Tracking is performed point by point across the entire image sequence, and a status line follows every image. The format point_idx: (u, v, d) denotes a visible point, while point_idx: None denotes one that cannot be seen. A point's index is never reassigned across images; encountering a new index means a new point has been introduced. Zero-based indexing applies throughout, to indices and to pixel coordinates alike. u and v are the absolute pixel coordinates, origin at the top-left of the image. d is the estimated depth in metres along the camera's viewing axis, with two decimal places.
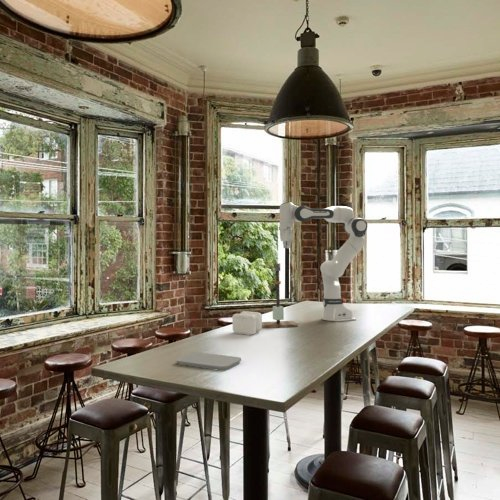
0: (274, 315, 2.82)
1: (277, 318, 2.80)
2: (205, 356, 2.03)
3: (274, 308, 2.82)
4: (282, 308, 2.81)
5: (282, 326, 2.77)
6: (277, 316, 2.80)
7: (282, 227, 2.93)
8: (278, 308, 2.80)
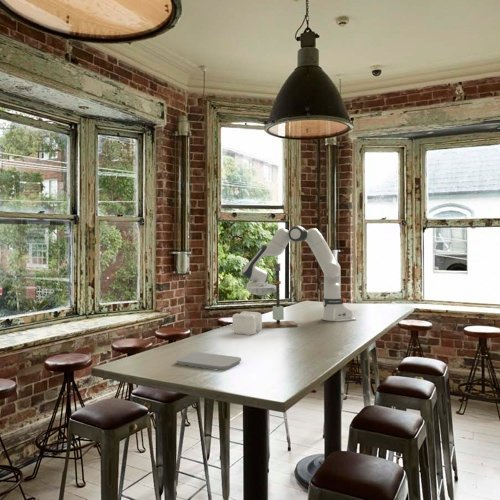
0: (274, 315, 2.82)
1: (277, 318, 2.80)
2: (205, 356, 2.03)
3: (274, 308, 2.82)
4: (282, 308, 2.81)
5: (282, 326, 2.77)
6: (277, 316, 2.80)
7: (256, 293, 3.05)
8: (278, 308, 2.80)
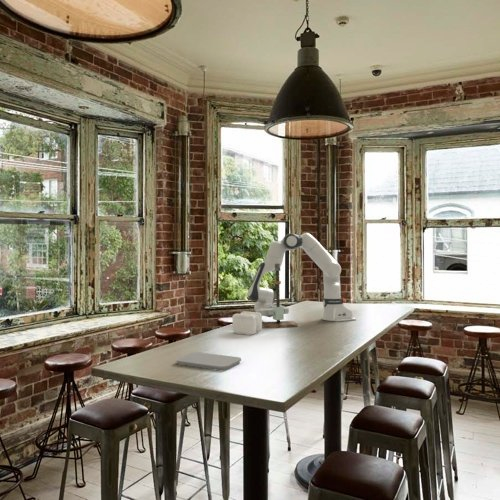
0: (274, 315, 2.82)
1: (277, 318, 2.80)
2: (205, 356, 2.03)
3: (274, 308, 2.82)
4: (282, 308, 2.81)
5: (282, 326, 2.77)
6: (277, 316, 2.80)
7: None
8: (278, 308, 2.80)
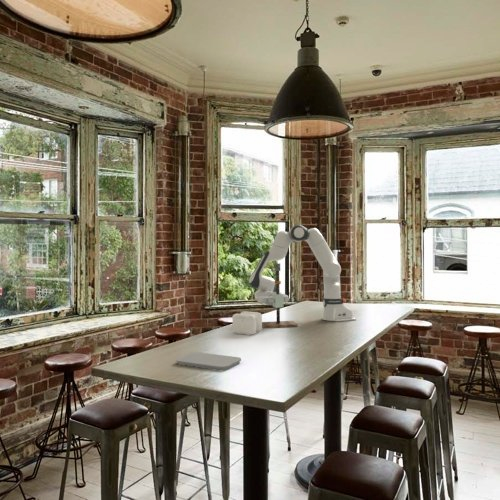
0: (274, 303, 2.82)
1: (277, 306, 2.80)
2: (205, 356, 2.03)
3: (274, 296, 2.81)
4: (282, 296, 2.81)
5: (282, 326, 2.77)
6: (277, 304, 2.80)
7: (265, 303, 2.93)
8: (278, 296, 2.80)
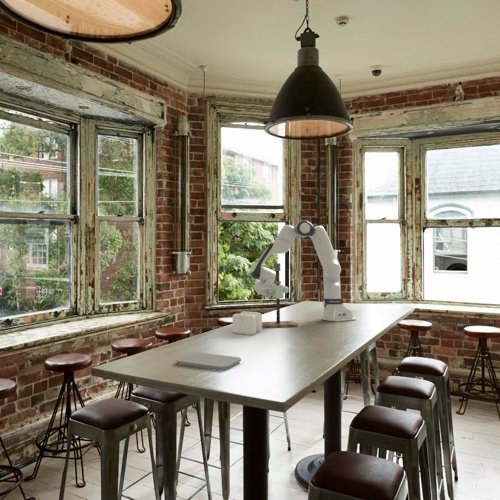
0: (274, 294, 2.82)
1: (277, 297, 2.79)
2: (205, 356, 2.03)
3: (274, 287, 2.81)
4: (282, 287, 2.81)
5: (282, 326, 2.77)
6: (277, 295, 2.79)
7: (265, 294, 2.93)
8: (278, 287, 2.80)
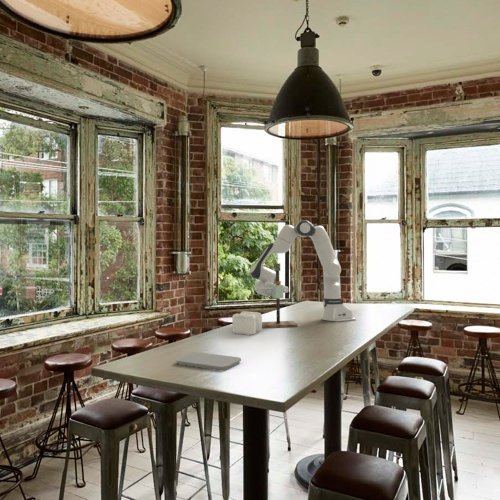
0: (274, 293, 2.82)
1: (277, 296, 2.79)
2: (205, 356, 2.03)
3: (274, 286, 2.81)
4: (282, 286, 2.81)
5: (282, 326, 2.77)
6: (277, 294, 2.79)
7: (264, 294, 2.93)
8: (278, 286, 2.80)
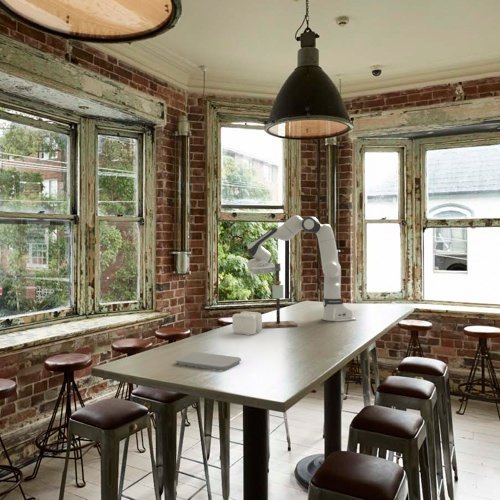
0: (274, 293, 2.82)
1: (277, 296, 2.79)
2: (205, 356, 2.03)
3: (274, 286, 2.81)
4: (282, 286, 2.81)
5: (282, 326, 2.77)
6: (277, 294, 2.79)
7: None
8: (278, 286, 2.80)
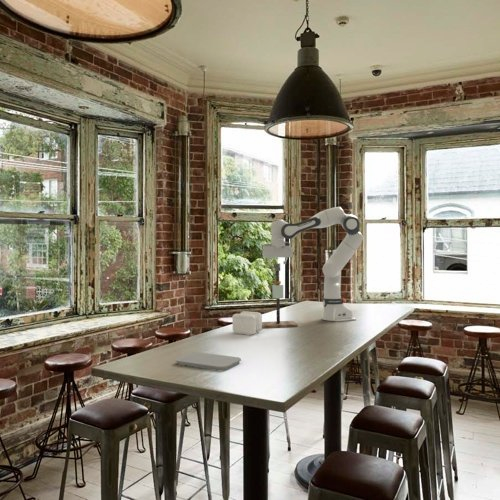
0: (274, 293, 2.82)
1: (277, 296, 2.79)
2: (205, 356, 2.03)
3: (274, 286, 2.81)
4: (282, 286, 2.81)
5: (282, 326, 2.77)
6: (277, 294, 2.79)
7: None
8: (278, 286, 2.80)
